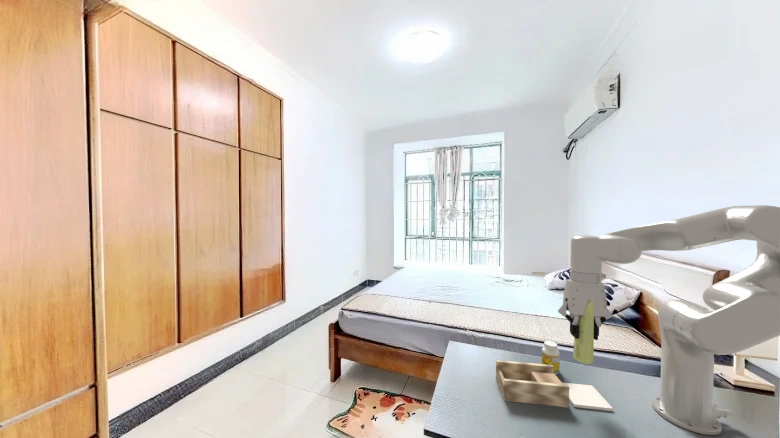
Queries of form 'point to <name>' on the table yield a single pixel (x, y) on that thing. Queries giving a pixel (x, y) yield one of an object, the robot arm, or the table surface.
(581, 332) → the tube
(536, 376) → the offcut top
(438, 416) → the table surface
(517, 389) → the tray
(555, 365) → the supplement bottle
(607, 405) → the tile
